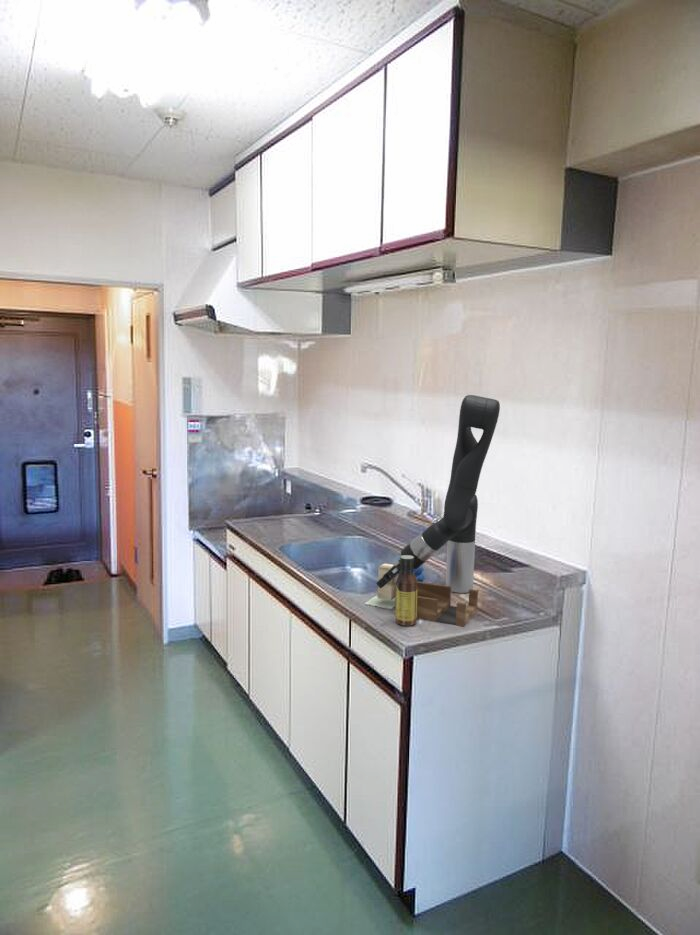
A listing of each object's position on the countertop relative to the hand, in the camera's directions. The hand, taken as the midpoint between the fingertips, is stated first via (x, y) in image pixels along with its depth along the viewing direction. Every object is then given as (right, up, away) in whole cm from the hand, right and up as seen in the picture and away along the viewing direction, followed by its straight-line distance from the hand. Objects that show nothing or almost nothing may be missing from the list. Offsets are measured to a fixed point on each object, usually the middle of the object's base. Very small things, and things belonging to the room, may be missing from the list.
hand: (382, 583), depth 210 cm
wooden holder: (+16, -8, -7) cm, 19 cm away
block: (+2, -4, 0) cm, 5 cm away
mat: (0, -6, +1) cm, 6 cm away
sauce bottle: (+6, -9, -17) cm, 20 cm away
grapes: (+11, -6, +11) cm, 17 cm away
